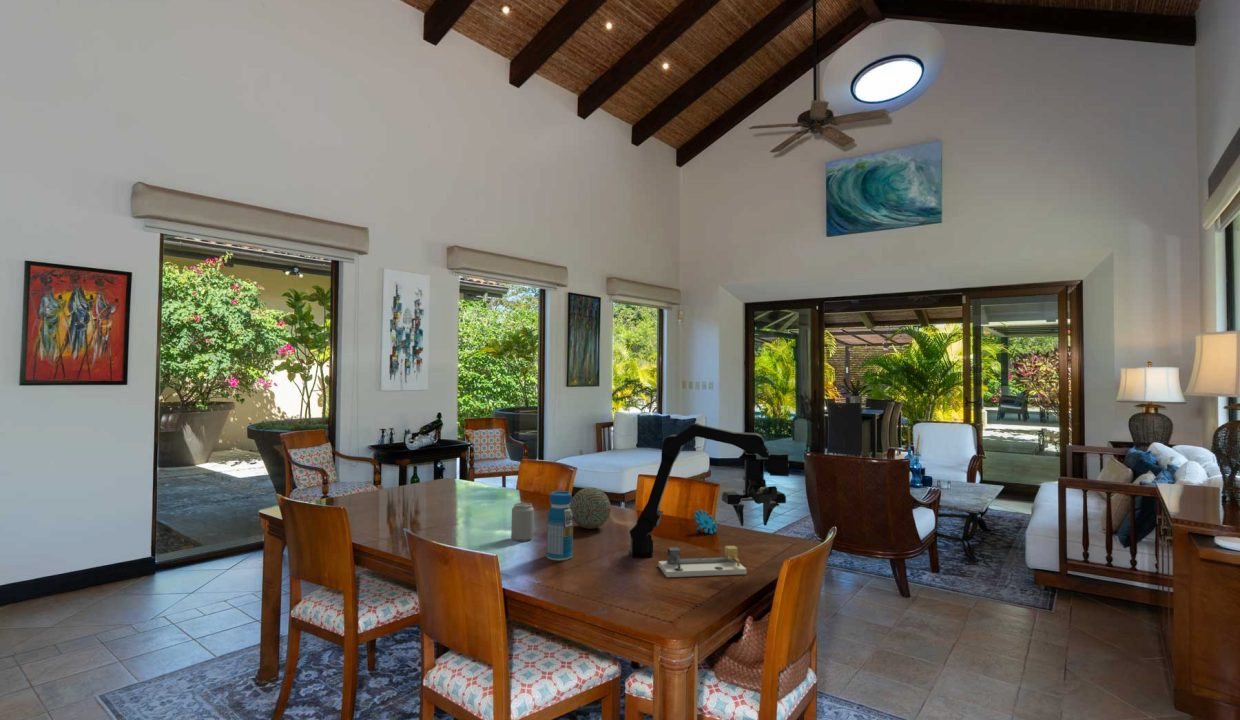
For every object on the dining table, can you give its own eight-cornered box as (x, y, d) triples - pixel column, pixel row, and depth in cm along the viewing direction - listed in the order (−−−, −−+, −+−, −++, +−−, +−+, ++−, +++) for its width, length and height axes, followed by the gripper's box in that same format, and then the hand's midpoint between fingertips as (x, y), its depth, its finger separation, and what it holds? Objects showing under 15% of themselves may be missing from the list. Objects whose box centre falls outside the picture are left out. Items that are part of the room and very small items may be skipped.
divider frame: (672, 570, 183) (673, 555, 183) (666, 561, 191) (666, 547, 191) (745, 567, 187) (745, 553, 187) (735, 559, 195) (735, 545, 195)
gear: (703, 532, 226) (692, 508, 232) (693, 541, 229) (683, 517, 235) (724, 532, 232) (713, 509, 238) (715, 541, 235) (704, 518, 241)
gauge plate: (666, 577, 182) (666, 571, 182) (658, 566, 191) (658, 560, 191) (746, 574, 186) (746, 568, 186) (734, 563, 196) (734, 558, 196)
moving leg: (733, 566, 186) (734, 553, 186) (724, 558, 194) (725, 545, 194) (743, 566, 187) (743, 553, 187) (734, 558, 195) (734, 545, 195)
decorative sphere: (580, 521, 244) (581, 482, 244) (616, 526, 238) (617, 486, 238) (562, 530, 230) (563, 489, 230) (600, 535, 224) (600, 493, 224)
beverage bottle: (546, 561, 193) (547, 496, 194) (545, 553, 202) (546, 490, 202) (573, 560, 195) (575, 495, 195) (571, 552, 203) (573, 490, 203)
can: (506, 540, 216) (507, 505, 216) (518, 535, 223) (519, 500, 223) (526, 543, 213) (526, 507, 213) (537, 537, 220) (538, 503, 220)
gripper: (734, 479, 185) (733, 533, 185) (794, 478, 188) (793, 531, 188) (721, 473, 196) (721, 524, 196) (778, 472, 199) (777, 522, 199)
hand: (753, 525), depth 194 cm, fingers open, 7 cm apart
